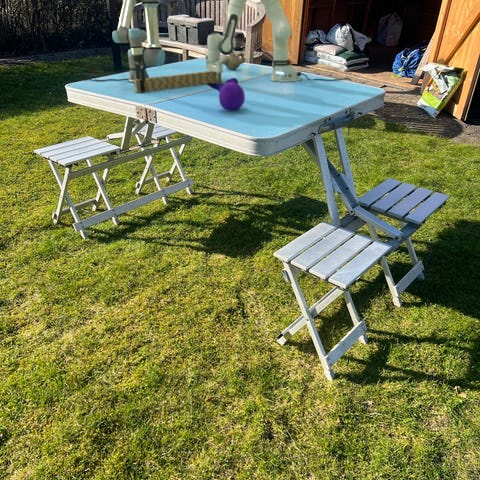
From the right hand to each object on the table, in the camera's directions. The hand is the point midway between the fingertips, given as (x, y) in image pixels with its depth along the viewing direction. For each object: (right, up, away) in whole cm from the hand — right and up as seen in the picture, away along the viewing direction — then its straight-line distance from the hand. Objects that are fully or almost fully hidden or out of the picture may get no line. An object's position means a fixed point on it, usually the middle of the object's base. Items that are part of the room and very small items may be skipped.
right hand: (215, 77), depth 329 cm
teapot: (+13, +22, +43) cm, 50 cm away
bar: (-24, -10, -10) cm, 28 cm away
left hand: (-49, -17, -22) cm, 56 cm away
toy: (+11, -42, -66) cm, 79 cm away
